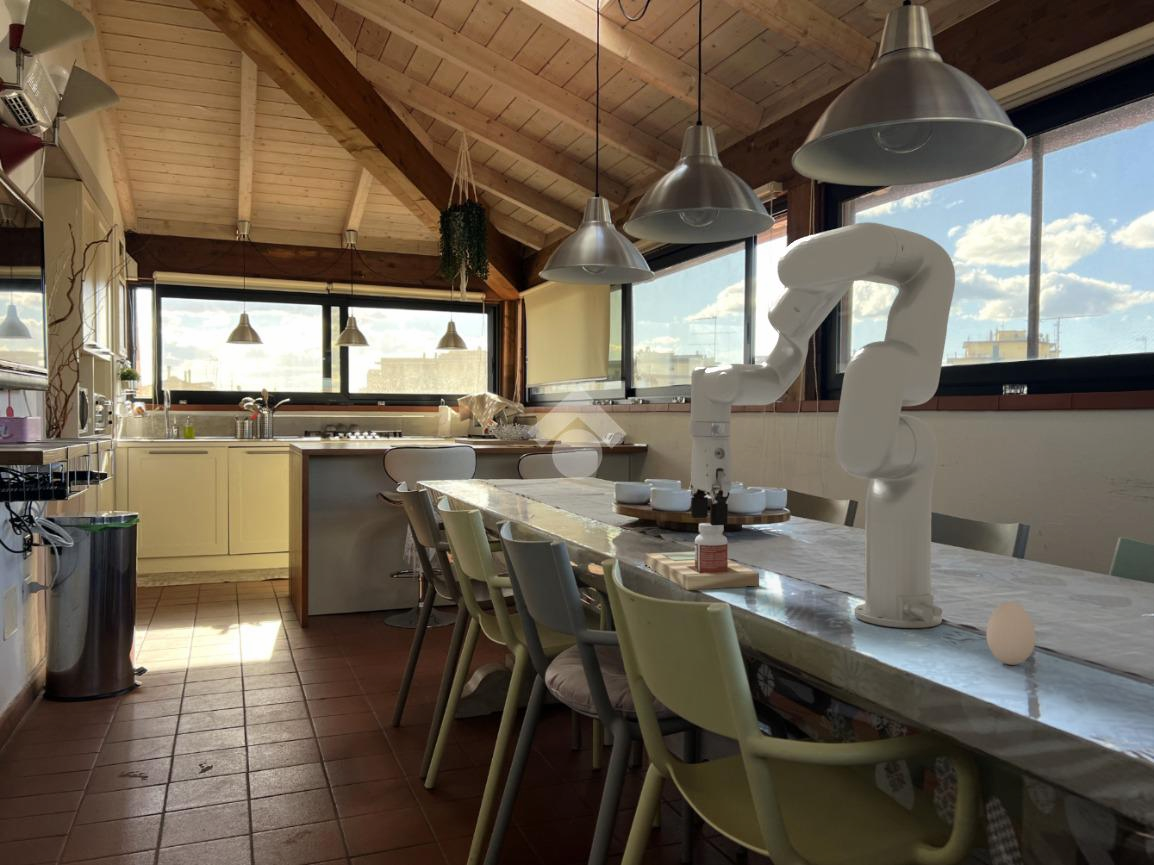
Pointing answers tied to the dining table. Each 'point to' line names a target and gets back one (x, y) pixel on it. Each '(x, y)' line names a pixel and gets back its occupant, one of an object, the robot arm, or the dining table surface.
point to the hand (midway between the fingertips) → (708, 521)
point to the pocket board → (683, 572)
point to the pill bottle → (711, 549)
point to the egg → (1010, 633)
